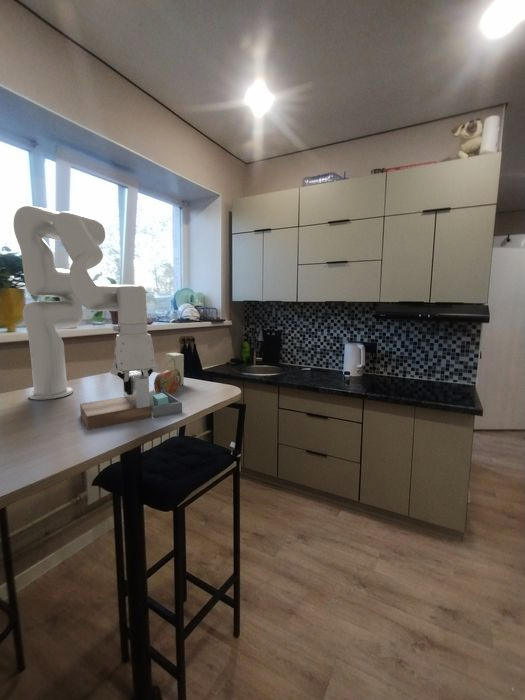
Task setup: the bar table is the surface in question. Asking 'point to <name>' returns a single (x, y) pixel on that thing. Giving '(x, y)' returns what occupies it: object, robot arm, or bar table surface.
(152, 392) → the tile white
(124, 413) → the board
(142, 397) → the grey rectangular block
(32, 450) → the bar table surface
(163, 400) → the teal block
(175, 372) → the tin
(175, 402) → the box
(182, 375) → the skincare box
